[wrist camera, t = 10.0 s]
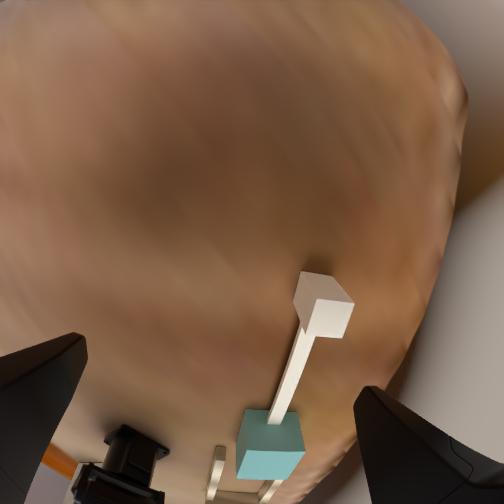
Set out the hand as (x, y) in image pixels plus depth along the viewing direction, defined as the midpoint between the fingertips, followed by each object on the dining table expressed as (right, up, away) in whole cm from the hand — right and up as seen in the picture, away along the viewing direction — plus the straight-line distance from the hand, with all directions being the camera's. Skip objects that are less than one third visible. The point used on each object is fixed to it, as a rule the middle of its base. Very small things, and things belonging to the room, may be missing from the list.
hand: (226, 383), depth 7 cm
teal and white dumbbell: (+3, -7, +15) cm, 17 cm away
